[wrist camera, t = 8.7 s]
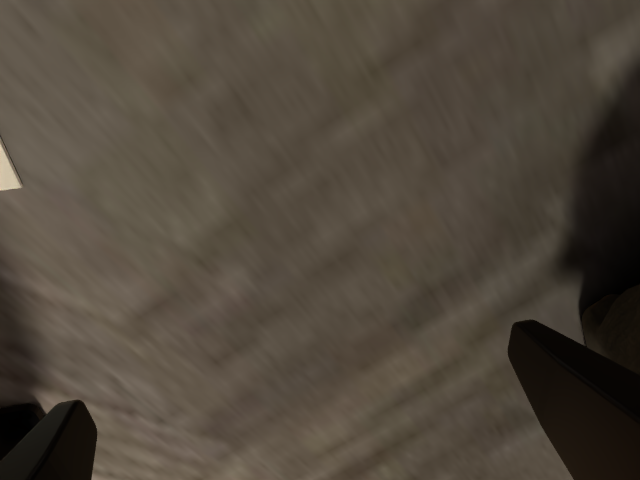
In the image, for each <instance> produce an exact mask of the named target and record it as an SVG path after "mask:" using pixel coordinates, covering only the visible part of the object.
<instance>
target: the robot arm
mask: <svg viewBox="0 0 640 480" xmlns="http://www.w3.org/2000/svg"><path fill="white" fill-rule="evenodd" d="M508 357H509V360H510V362H511V364H512V366H513V369H514V371H515V373H516V375H517V377H518V379H519V381H520V383H521V385H522V387H523V389H524V391H525V394H526V396H527V398H528V400H529V402H530V404H531V406H532V408H533V410H534V412H535V414H536V416H537V418H538V420H539V422H540V424H541V426H542V428H543V429H544V431H545V433H546V435H547V436H548V438H549V440H550V441H551V443H552V445H553V446H554V448H555V449H556V451H557V453H558V454H559V456H560V458H561V459H562V461H563V463H564V464H565V466H566V467H567V469H568V471H569V472H570V474H571V476H572V477H573V479H574V480H640V375H639V374H637V373H635V372H633V371H632V370H630V369H628V368H626V367H624V366H622V365H620V364H618V363H616V362H614V361H612V360H610V359H608V358H607V357H605V356H603V355H601V354H599V353H597V352H595V351H593V350H591V349H589V348H587V347H585V346H584V345H582V344H580V343H578V342H576V341H574V340H572V339H570V338H568V337H566V336H564V335H562V334H561V333H559V332H557V331H555V330H553V329H551V328H549V327H547V326H545V325H543V324H541V323H539V322H537V321H535V320H524V321H519V322H515V323H514V324H513V325H512V329H511V334H510V340H509V345H508ZM96 441H97V428H96V425H95V423H94V421H93V419H92V417H91V415H90V413H89V411H88V410H87V408H86V406H85V404H84V403H83V402H82V401H81V400H72V401H67V402H61V403H59V404H57V405H56V406H55V407H53V408H52V409H51V410H50V411H49V413H48V414H47V415H46V416H45V417H44V416H43V414H42V412H41V411H40V409H39V408H38V407H37V406H35V405H33V404H24V405H18V406H13V407H7V408H1V409H0V480H91V478H92V470H93V463H94V456H95V449H96Z"/></svg>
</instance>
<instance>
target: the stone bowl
mask: <svg viewBox="0 0 640 480" xmlns="http://www.w3.org/2000/svg"><path fill="white" fill-rule="evenodd" d="M582 326H583V332H584V337H585V340H586V345H587V348H589V349H591V350H593V351H595V352H597V353H599V354H601V355H603V356H605V357H607V358H608V359H610V360H612V361H614V362H616V363H618V364H620V365H622V366H624V367H626V368H628V369H630V370H632V371H633V372H635V373H637V374H639V375H640V284H639V285H637V286H634V287H632V288H629V289H627V290H626V291H625V292H623V293H622V294H621V295H616V294H610V295H607V296H604V297H603V298H602V299H601V300H599V301H598V302H596V303H594V304H593V305H591V306H589V307H588V308H587V309H586V310H585V311H584V313H583V316H582Z"/></svg>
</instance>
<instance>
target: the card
mask: <svg viewBox="0 0 640 480" xmlns="http://www.w3.org/2000/svg"><path fill="white" fill-rule="evenodd" d="M22 186H23V185H22V183H21V180H20V178H19V176H18V174H17V172H16V170H15V167H14V165H13V163H12V161H11V159H10V157H9V154H8V152H7V150H6V148H5V146H4V144H3V142H2V139H1V137H0V191H1V190H8V189H16V188H21V187H22Z"/></svg>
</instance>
